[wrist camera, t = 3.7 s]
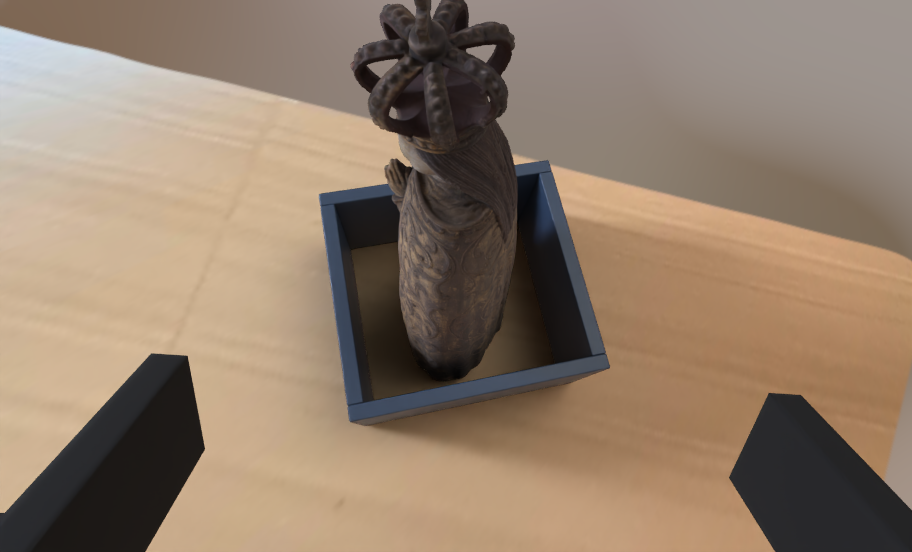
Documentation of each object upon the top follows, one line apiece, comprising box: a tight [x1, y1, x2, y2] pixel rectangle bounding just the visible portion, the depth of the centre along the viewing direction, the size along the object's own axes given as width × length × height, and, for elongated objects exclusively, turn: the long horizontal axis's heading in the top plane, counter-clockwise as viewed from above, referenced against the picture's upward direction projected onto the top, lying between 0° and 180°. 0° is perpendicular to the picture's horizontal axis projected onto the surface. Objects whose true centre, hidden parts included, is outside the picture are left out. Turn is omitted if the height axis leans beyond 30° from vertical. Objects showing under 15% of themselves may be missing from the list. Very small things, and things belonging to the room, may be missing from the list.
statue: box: [351, 0, 518, 381], centre depth 21 cm, size 9×8×25 cm
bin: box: [319, 160, 610, 426], centre depth 30 cm, size 13×14×7 cm
